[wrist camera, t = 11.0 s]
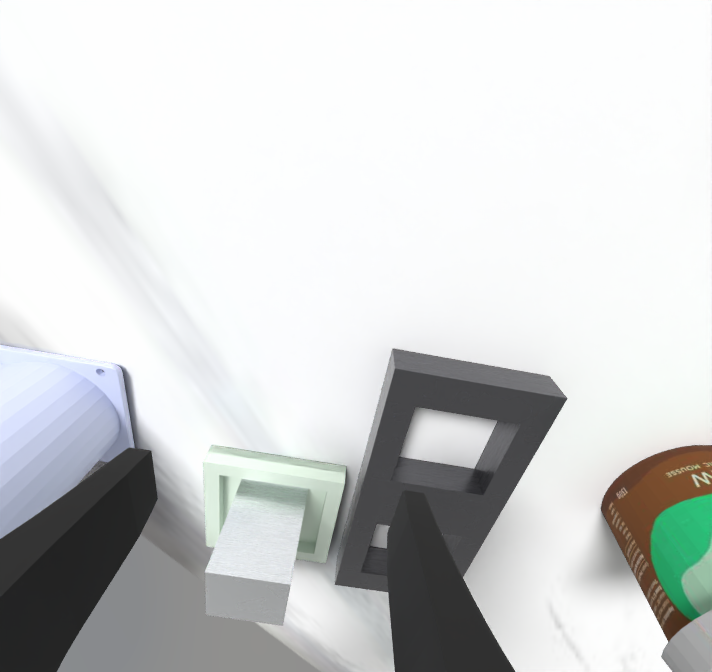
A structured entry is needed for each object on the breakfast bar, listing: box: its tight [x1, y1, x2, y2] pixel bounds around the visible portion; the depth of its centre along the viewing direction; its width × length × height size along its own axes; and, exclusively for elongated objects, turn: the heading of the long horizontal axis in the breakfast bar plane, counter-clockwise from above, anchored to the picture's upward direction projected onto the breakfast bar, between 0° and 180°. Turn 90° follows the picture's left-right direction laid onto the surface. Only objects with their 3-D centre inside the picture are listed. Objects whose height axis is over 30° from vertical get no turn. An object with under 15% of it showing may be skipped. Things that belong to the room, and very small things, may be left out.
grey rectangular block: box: [205, 479, 308, 626], centre depth 22 cm, size 4×4×6 cm
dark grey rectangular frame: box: [335, 349, 567, 592], centre depth 23 cm, size 9×20×2 cm, turn 170°
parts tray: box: [203, 445, 346, 564], centre depth 25 cm, size 9×9×1 cm
